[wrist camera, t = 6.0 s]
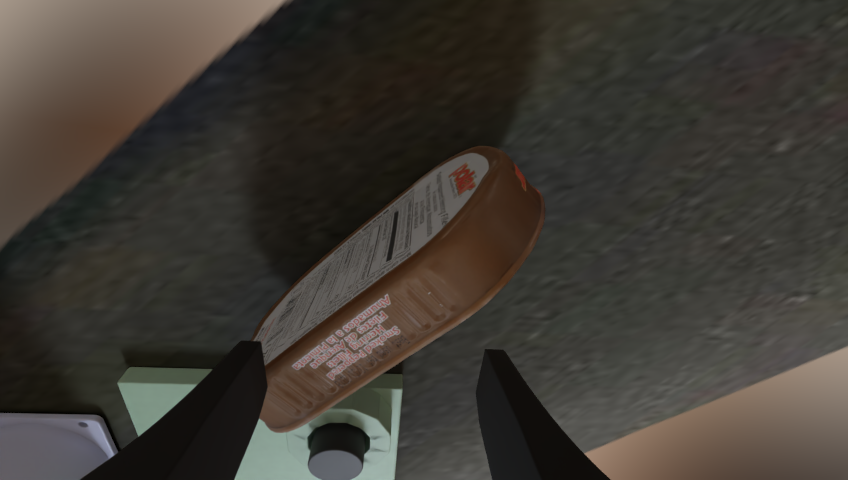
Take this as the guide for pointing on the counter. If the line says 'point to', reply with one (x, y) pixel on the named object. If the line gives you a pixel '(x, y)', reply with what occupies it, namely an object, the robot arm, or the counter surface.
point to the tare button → (337, 452)
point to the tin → (397, 283)
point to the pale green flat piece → (284, 452)
